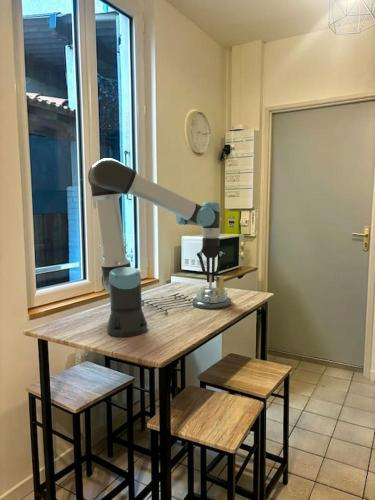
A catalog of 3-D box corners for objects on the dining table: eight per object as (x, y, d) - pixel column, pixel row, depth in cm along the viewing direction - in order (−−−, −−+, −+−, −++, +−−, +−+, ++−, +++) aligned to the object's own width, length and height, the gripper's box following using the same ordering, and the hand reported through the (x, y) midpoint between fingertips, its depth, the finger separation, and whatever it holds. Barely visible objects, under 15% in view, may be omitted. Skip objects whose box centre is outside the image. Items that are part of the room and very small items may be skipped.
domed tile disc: (209, 304, 170) (209, 279, 168) (190, 298, 181) (190, 274, 180) (233, 299, 178) (233, 274, 176) (214, 293, 189) (213, 270, 188)
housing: (201, 311, 168) (201, 295, 168) (187, 301, 185) (186, 287, 184) (238, 306, 175) (238, 291, 174) (220, 297, 191) (220, 283, 191)
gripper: (196, 238, 167) (195, 291, 171) (225, 238, 166) (224, 291, 169) (197, 236, 175) (197, 287, 178) (225, 236, 173) (224, 287, 177)
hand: (210, 289), depth 174 cm, fingers closed
